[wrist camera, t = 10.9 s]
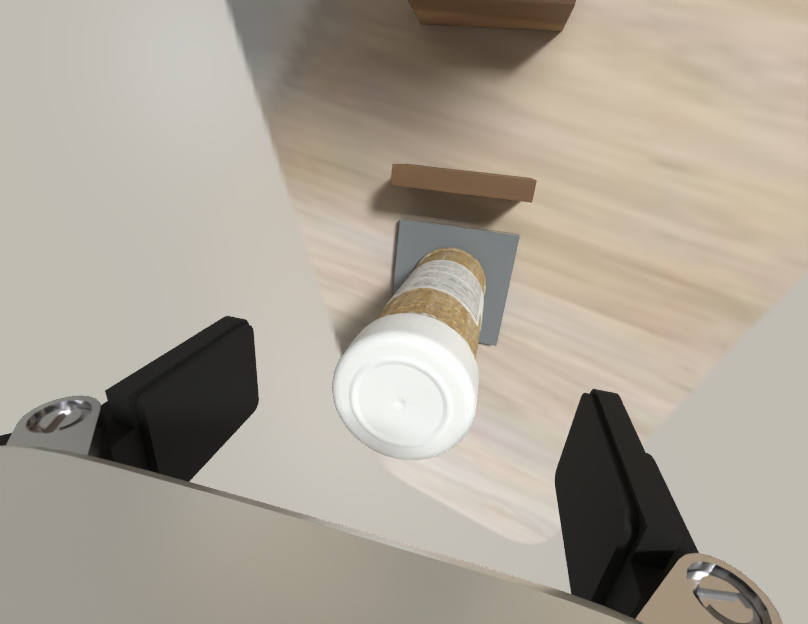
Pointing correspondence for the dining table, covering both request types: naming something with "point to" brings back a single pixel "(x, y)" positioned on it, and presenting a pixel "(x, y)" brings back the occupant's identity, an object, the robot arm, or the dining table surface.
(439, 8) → the walnut rack
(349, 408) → the sprinkles bottle
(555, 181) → the dining table surface
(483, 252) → the slate coaster
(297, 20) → the dining table surface
